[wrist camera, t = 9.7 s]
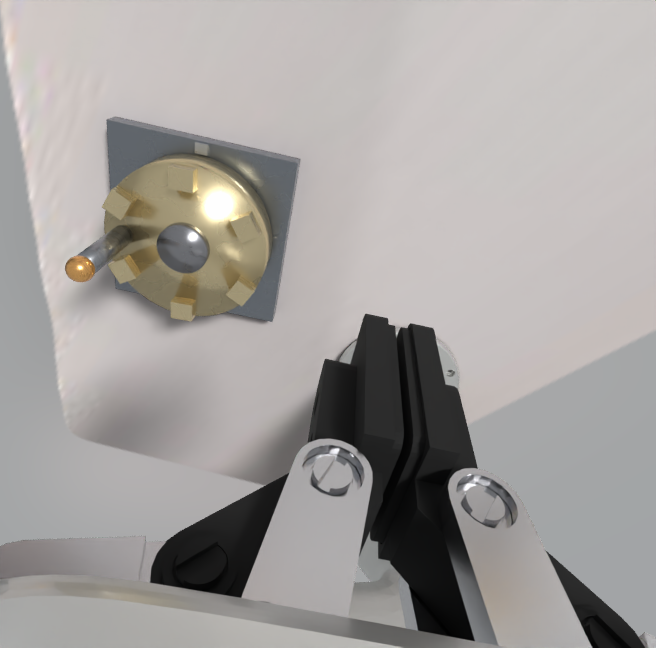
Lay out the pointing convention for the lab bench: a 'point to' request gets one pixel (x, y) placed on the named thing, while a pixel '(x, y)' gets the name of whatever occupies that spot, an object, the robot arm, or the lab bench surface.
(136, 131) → the base plate
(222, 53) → the lab bench surface
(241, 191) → the brass dial with handle
